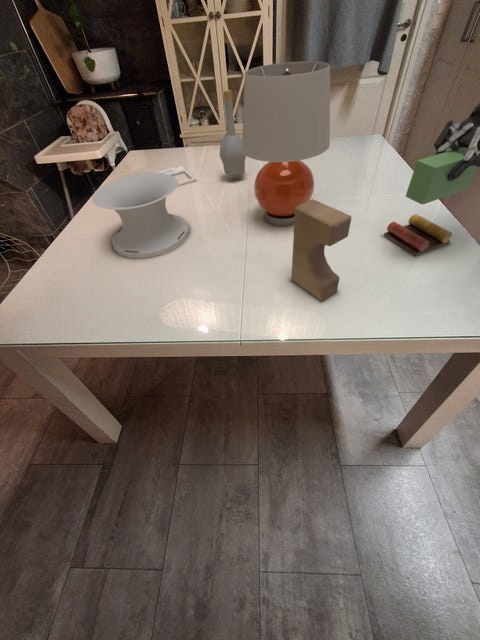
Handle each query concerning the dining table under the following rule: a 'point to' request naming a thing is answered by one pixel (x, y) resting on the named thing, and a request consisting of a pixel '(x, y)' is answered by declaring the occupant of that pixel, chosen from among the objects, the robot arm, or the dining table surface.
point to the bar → (439, 177)
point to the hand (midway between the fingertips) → (438, 174)
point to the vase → (143, 214)
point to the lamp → (285, 132)
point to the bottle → (231, 143)
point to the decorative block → (316, 246)
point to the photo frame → (177, 171)
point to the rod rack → (418, 235)
